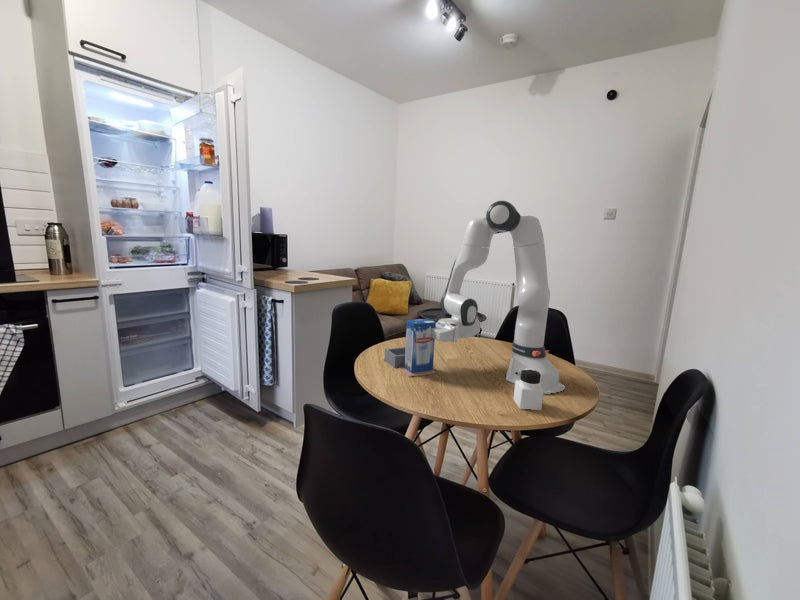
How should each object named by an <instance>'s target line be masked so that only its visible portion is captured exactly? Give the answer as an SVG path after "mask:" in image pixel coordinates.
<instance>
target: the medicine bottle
mask: <svg viewBox="0 0 800 600" xmlns="http://www.w3.org/2000/svg"><path fill="white" fill-rule="evenodd" d="M540 377H541V374H540V373H539V372H538V371H536V370H533V369H523V370H522V371H521V378H520V381H518V380H516V381H515V384H514V392H513V398H512V399H513V401H514V402H515V404H516V406H517V407H518V408H519V409H520V410H525V409H531V410H530V411H542V410H543V409H542V408H543V400H544V395H545V394H544V390H543V389H542V388H541V387H540Z"/></svg>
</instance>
